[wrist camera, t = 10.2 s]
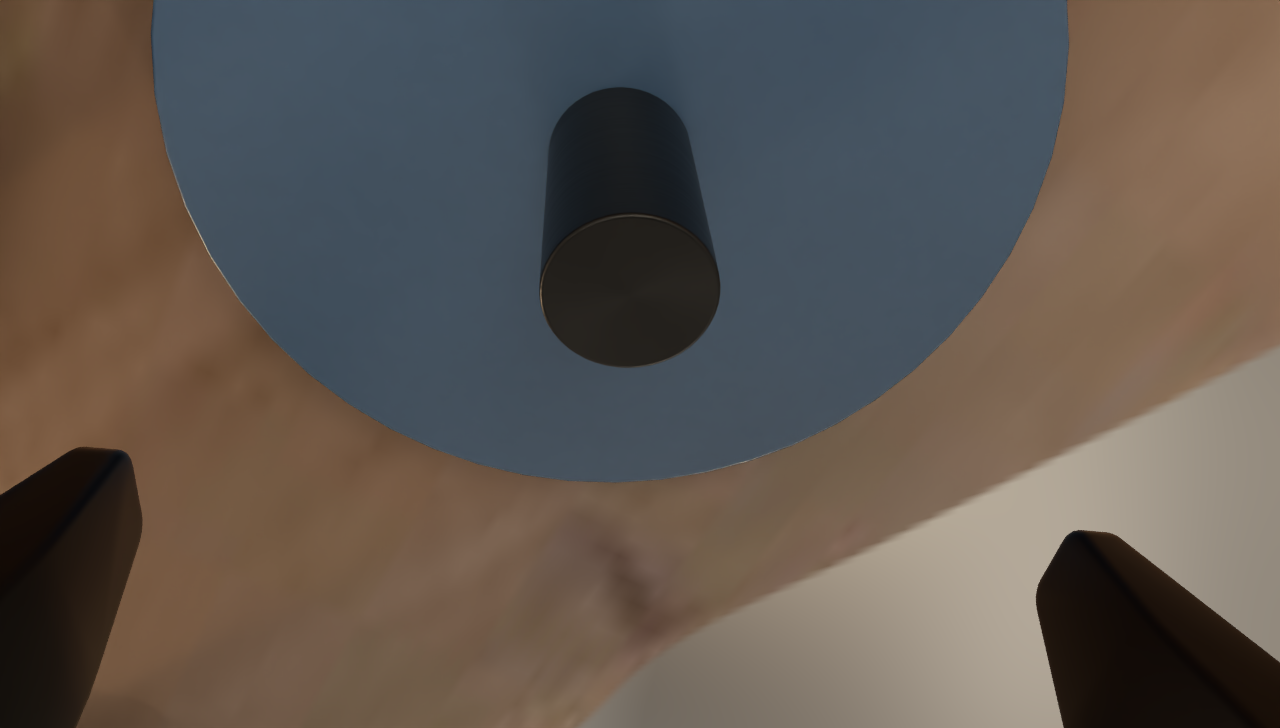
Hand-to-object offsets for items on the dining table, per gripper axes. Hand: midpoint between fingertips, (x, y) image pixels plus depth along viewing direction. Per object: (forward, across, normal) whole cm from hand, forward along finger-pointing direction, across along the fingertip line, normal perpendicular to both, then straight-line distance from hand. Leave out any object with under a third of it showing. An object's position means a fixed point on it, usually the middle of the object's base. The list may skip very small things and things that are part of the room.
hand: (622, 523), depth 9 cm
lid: (+9, 0, 0) cm, 9 cm away
